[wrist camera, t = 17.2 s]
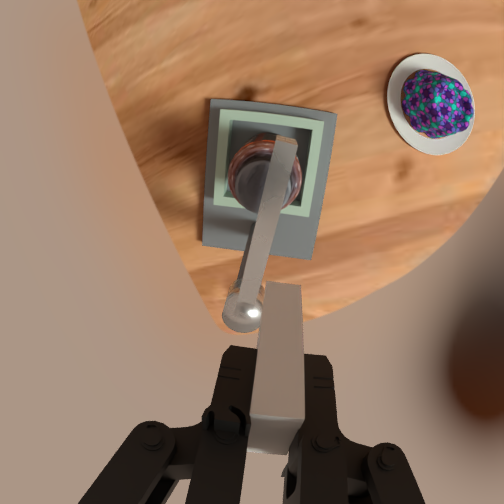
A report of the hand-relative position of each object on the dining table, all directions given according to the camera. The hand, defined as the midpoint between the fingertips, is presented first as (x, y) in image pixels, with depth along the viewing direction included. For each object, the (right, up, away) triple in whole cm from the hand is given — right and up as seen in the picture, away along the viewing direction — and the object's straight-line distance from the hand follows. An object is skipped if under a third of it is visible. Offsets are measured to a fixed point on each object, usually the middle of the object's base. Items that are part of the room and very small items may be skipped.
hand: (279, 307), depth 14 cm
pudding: (+19, +19, +13) cm, 30 cm away
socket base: (0, +10, +20) cm, 22 cm away
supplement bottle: (+1, +12, +17) cm, 21 cm away
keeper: (0, +4, +7) cm, 8 cm away
